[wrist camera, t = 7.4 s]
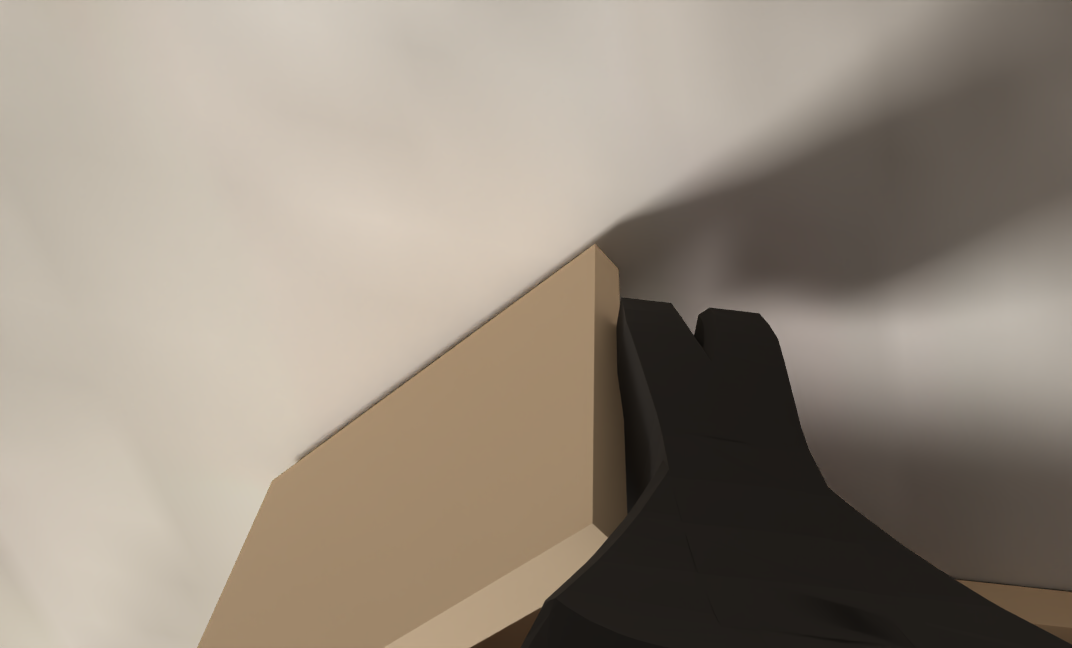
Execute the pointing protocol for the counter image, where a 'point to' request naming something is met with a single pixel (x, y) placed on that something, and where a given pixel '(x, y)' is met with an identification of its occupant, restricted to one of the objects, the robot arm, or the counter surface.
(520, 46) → the counter surface
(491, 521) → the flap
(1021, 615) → the cardboard box
